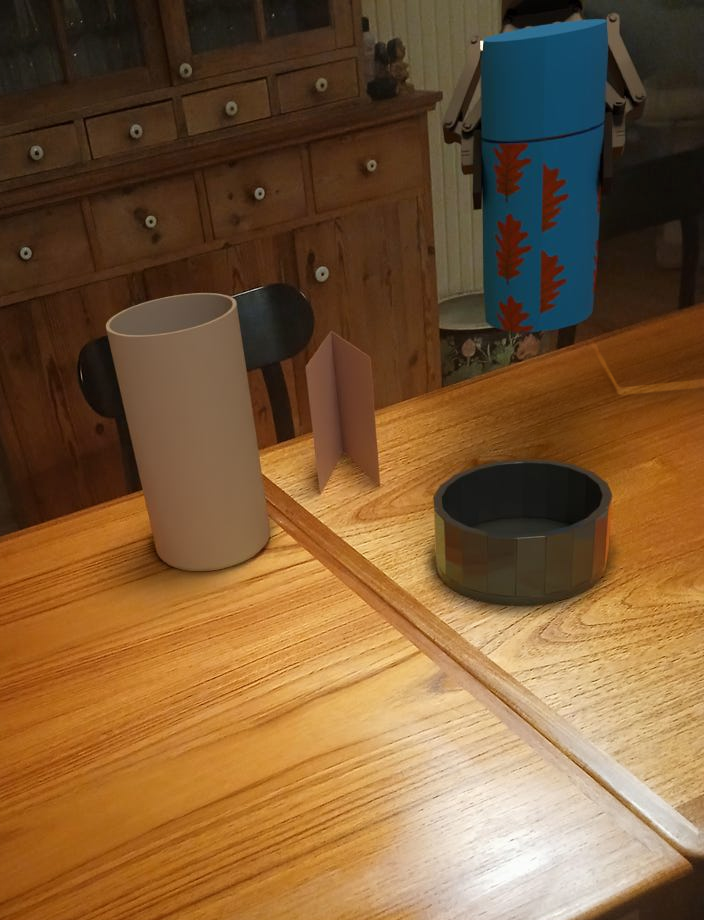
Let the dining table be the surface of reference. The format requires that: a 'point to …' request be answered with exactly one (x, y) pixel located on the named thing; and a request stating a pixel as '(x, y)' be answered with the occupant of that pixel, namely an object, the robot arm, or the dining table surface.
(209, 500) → the cylinder vase
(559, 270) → the thermos
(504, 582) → the faceted round dish
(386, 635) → the dining table surface
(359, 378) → the greeting card
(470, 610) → the dining table surface
